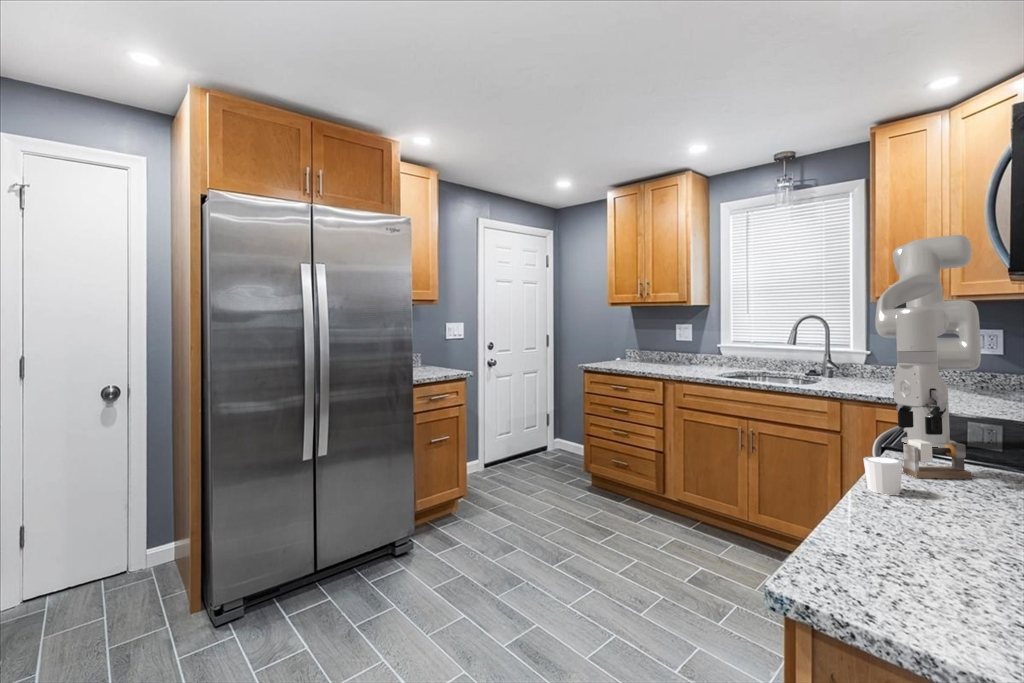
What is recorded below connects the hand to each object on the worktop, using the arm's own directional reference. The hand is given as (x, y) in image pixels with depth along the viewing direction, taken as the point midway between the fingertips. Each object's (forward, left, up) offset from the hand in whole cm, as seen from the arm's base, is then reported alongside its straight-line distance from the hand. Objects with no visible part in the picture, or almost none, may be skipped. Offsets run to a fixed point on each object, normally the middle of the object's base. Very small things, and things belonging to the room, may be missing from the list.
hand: (919, 430), depth 118 cm
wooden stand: (-1, +4, -11) cm, 11 cm away
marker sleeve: (-1, 0, -7) cm, 7 cm away
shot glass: (+11, -15, -11) cm, 22 cm away
